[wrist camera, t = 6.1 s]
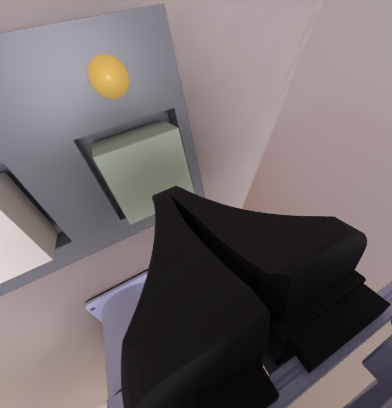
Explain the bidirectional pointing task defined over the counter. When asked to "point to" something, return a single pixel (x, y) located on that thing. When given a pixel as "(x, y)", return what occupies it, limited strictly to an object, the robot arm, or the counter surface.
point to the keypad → (84, 120)
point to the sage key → (142, 166)
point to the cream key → (22, 232)
